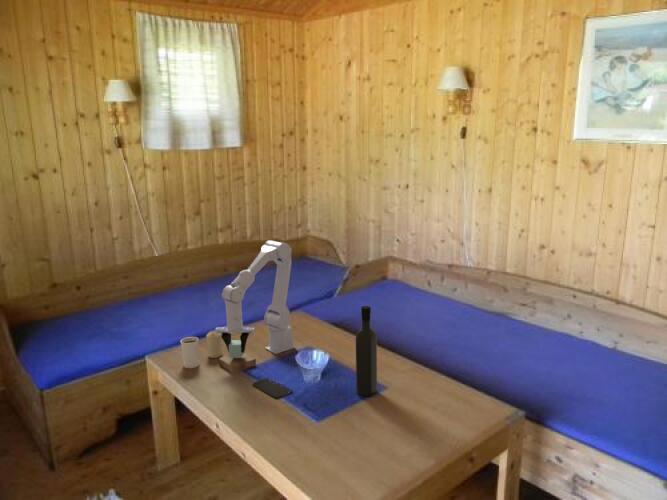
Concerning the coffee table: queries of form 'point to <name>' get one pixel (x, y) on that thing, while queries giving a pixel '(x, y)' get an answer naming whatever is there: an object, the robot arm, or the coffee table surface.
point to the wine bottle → (366, 356)
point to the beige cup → (190, 352)
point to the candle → (214, 344)
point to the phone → (271, 388)
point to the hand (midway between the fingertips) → (236, 351)
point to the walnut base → (237, 362)
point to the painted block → (235, 349)
